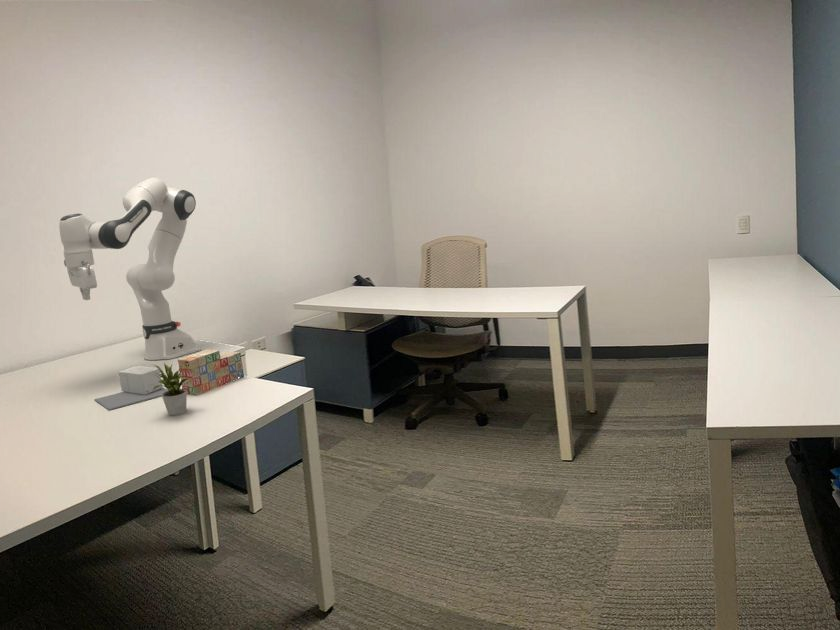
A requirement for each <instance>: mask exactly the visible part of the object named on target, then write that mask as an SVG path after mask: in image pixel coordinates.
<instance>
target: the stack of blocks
mask: <svg viewBox="0 0 840 630" xmlns="http://www.w3.org/2000/svg"><path fill="white" fill-rule="evenodd" d="M241 353H242V352H241V351H239V352H238V351H228V350H227V351H225V352H222V353H221V351H220V350H217V349H216V350H214V349H205V350H200V351H197V352H194V353H191V354H188V355H185V356H183V357H180V358H178V359H177V362H178V370H179V372H180V370H181V367H182V365H183V368H182V371H181V373H180V375H182V374H183V375H182V376H181V379H180V381H181V380H183V379H186V378H190V379H187V380H186V381H184V382H183V384H182V385H181V387H182V388H183V389H185V390H187V395H189V396H198V395H201V394H203V393H207V392H209V391H211V390H214V388H215V389H216V388H219V387H222V386H223V385H227V384H229V383H232V382H234V381H233V380H235V381H236V379H237V380H239V379H238V377H242V378H244V377H245V376H244V375H245V374H244V373H245V372H244V366H243V359H242V354H241ZM191 364H192V365H191ZM190 365H191V366H190ZM188 366H189V367H188ZM187 367H188V368H187ZM186 368H187V369H186ZM185 370H186V371H185ZM184 371H185V372H184ZM183 372H184V373H183ZM191 380H192V381H191ZM188 381H190V382H188ZM231 381H232V382H231ZM187 382H188V383H187ZM228 382H229V383H228ZM186 383H187V384H186ZM226 383H227V384H226ZM221 385H222V386H221ZM183 386H184V387H183ZM182 388H181V389H182Z"/></svg>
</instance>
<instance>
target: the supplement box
mask: <svg viewBox="0 0 840 630" xmlns="http://www.w3.org/2000/svg"><path fill="white" fill-rule="evenodd" d="M142 371H143V372H142ZM152 371H153V372H152ZM155 372H156V373H158V374H159V375H160V374H161V372H160V371H159V369H158V368H157V367H151V366H150V367H149V366H143V365H134V366H132V367H129V368H126V369H122V370H119V371H118V378H119V383H120V384H119V385H120V388H121V389H120V391H121V392H130V393H137V394H143V395H146V394H148V393H151V392H153V391H156V390H159V389H162V388H164V384H162V383H160V382H159V381H160V379H161V380H162V379H163V378H162V377H160V376H161V375H160V376H159V375H158V374H156V373H155ZM149 373H151V374H149ZM154 374H155V375H154ZM157 376H158V377H159V378H160V379H159V378H158V377H157ZM151 384H152V385H151ZM158 385H161V386H159V387H157V388H156V389H154V390H153V388H154V387H155V386H158Z"/></svg>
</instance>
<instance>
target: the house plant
mask: <svg viewBox="0 0 840 630" xmlns="http://www.w3.org/2000/svg"><path fill="white" fill-rule="evenodd" d="M173 362H174V360H173V361H172V363H171V365H170V366H169V365H168V364H166V363H165V362H163V366H164V371H165V373H164V371H163V370H162V368H161V367H160V366H159V365H156V364H154V363H153V364H151V365H152V366H155V368H158V369H159V371H160V373H161V374H160V375H161V376H160V375H159V374H158V373H156V372H155V373H156V374H158V375H159V376H160V377H161V379H162V380H161V379H160V378H159V377H158V376H157V377H158V378H159V379H160V381H159V382H160V383H162V385H163V388H165V389H168V391H167V392H165V393H163V394H162V400H163V403H164V406H165V409H166V411H167V414H168V415H169V416H179V415H183V414H184V413H186V412H187V405H188V404H187V399H188V397H187V395H188V394H187V390H185V389H183V388H181V387H182V384H183V382H184V381H186V380H187V379H190V378H186V379H183V380H181V376H182V375H183V374H182V375H180V373H181V371H182V368H183V365H182V367H181V370H180V372H179V369H178V370H176V371H175V372H174V373H173V371H172V369H173V367H172V366H173ZM191 365H192V364H191ZM191 365H190V366H191ZM188 367H189V366H188ZM188 367H187V368H188ZM187 368H186V369H187ZM185 371H186V370H185ZM185 371H184V372H185ZM142 372H143V371H142ZM152 372H153V371H152ZM184 372H183V373H184ZM149 374H151V373H149ZM154 375H155V374H154ZM191 381H192V380H191ZM188 382H190V381H188ZM188 382H187V383H188ZM187 383H186V384H187ZM151 385H152V384H151ZM159 386H161V385H158V386H155V387H154V388H153V390H154V389H156V388H157V387H159ZM183 387H184V386H183ZM164 391H165V390H164Z"/></svg>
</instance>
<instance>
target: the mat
mask: <svg viewBox="0 0 840 630" xmlns="http://www.w3.org/2000/svg"><path fill="white" fill-rule="evenodd" d="M164 390H165V391H164ZM167 391H168V389H167V388H166V387H163V388H162V389H159V390H156V391H153V392H151V393H148V394H146V395H143V394H137V393H130V392H123V391H121V392H117V393H113V394H108V395H105V396H102V397H97V398H95V399H94V401H95V402H96V403H97V404H99V405H100V406H101V407H103V408H105V409H107V410H108V411H113V410H117V409H121V408H124V407H127V406H132V405H136V404H138V403H143V402H146V401H151V400H154V399H157V398H161V397H162V394H163V393H165V392H167Z"/></svg>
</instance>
